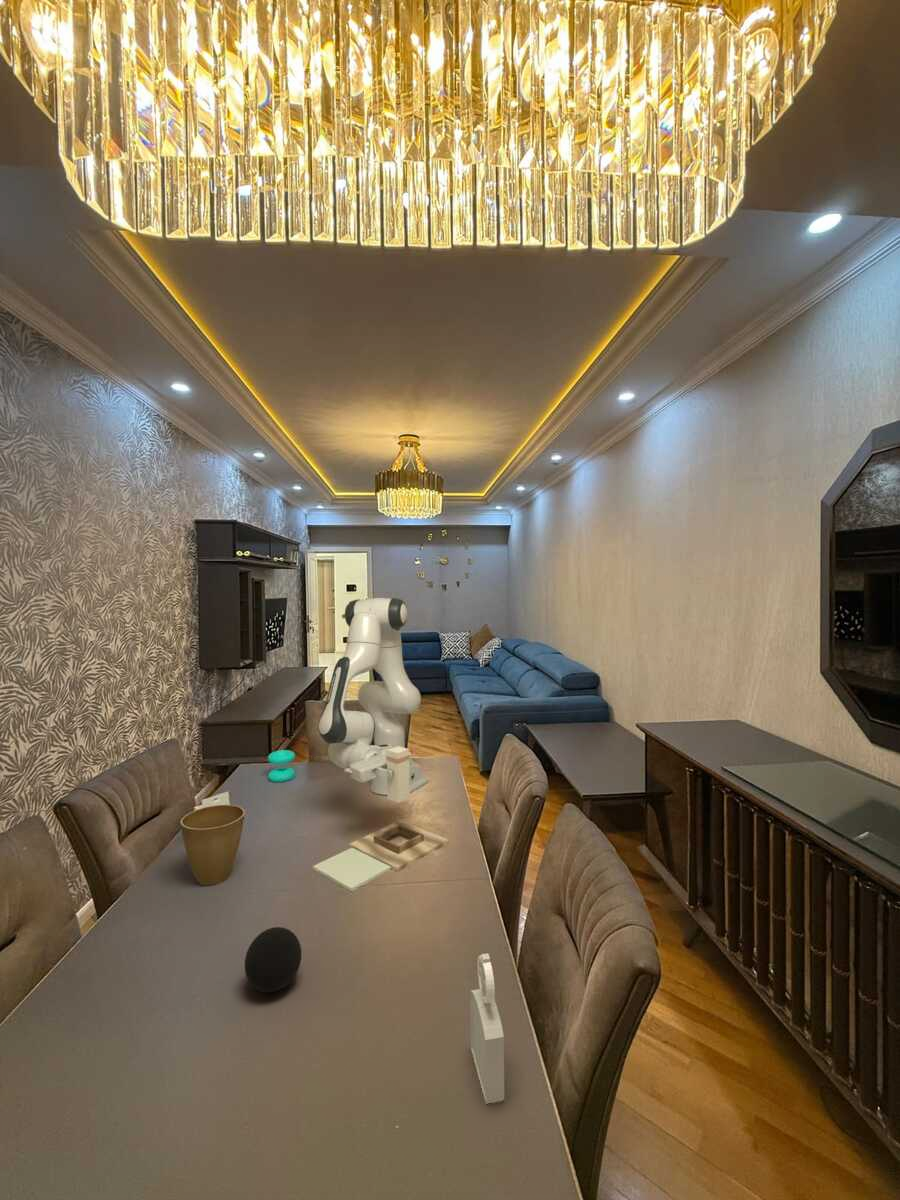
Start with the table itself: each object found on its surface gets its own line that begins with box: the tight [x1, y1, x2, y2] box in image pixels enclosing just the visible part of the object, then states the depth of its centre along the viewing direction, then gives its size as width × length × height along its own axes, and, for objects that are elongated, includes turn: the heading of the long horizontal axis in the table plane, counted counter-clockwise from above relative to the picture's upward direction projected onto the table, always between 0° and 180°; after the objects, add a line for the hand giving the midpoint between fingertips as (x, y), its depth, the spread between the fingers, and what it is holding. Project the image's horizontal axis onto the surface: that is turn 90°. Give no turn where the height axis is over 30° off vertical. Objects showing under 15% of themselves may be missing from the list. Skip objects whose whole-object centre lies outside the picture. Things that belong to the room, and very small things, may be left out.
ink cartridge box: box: [193, 791, 231, 811], centre depth 153 cm, size 9×5×15 cm, turn 143°
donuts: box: [267, 749, 296, 783], centre depth 206 cm, size 10×10×10 cm
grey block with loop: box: [469, 953, 505, 1105], centre depth 80 cm, size 3×9×18 cm, turn 11°
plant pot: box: [180, 804, 246, 886], centre depth 135 cm, size 15×15×16 cm
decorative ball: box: [244, 926, 302, 993], centre depth 98 cm, size 10×10×10 cm
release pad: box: [312, 848, 392, 892], centre depth 139 cm, size 13×16×1 cm
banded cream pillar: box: [386, 746, 411, 803], centre depth 151 cm, size 5×5×14 cm
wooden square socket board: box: [348, 819, 449, 872], centre depth 151 cm, size 20×20×3 cm
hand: (400, 771), depth 150 cm, fingers closed on banded cream pillar, 4 cm apart
